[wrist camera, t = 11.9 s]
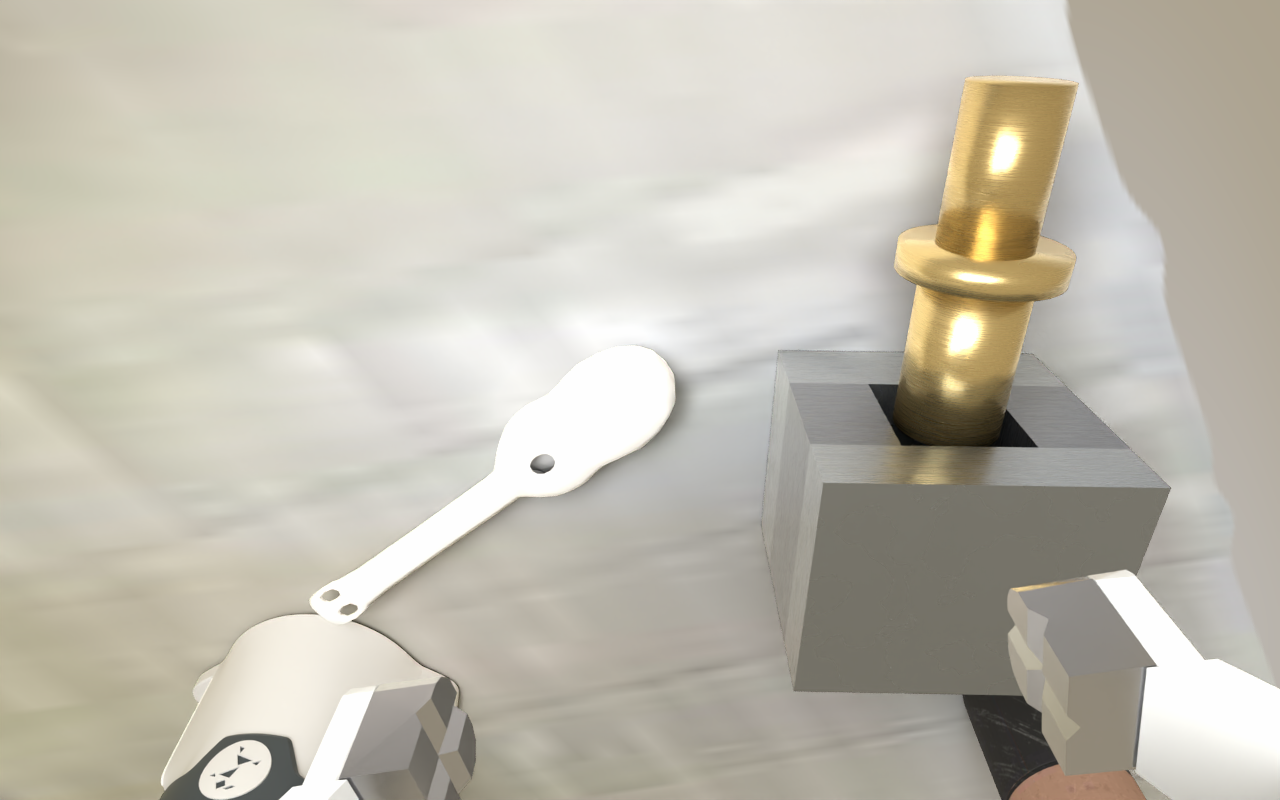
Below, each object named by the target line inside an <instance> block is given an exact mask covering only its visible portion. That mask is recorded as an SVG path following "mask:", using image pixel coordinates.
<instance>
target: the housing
mask: <svg viewBox="0 0 1280 800" xmlns="http://www.w3.org/2000/svg"><path fill="white" fill-rule="evenodd" d="M903 357H904V352H857V351H781V350H778V359H777V369H776V379H775V389H774V400H773V410H772V420H771V430H770V440H769V450H768V460H767V470H766V480H765V490H764V501H763V511H762V521H761V527H762V532H763V537H764V542H765V548H766V553H767V558H768V563H769V568H770V573H771V578H772V583H773V588H774V593H775V599H776V604H777V609H778V614H779V619H780V624H781V629H782V634H783V639H784V644H785V650H786V655H787V660H788V665H789V670H790V675H791V680H792V685H793V690H794V691H807V692H860V693H913V694H965V695H1018V696H1023V694H1022V692H1021V690H1020V688H1019V686H1018V683H1017V681H1016V678H1015V675H1014V673H1013V669H1012V665H1011V660H1010V656H1009V650H1008V633H1009V632H1010V631H1011V629H1012V628H1013V627H1014V626H1015V623H1014V621H1013V619H1012V617H1011V616H1010V614H1009V612H1008V610H1007V599H1008V593H1009V591H1010V588H1017V587H1023V586H1029V585H1035V584H1041V583H1047V582H1053V581H1059V580H1065V579H1072V578H1078V577H1086V576H1090V575H1096V574H1102V573H1108V572H1114V571H1120V570H1128V571H1129V572H1131V573H1133V574H1134V575H1135V576H1136V575H1137V572H1138V570H1139V567H1140V565H1141V562H1142V560H1143V557H1144V555H1145V552H1146V550H1147V547H1148V545H1149V542H1150V540H1151V537H1152V535H1153V532H1154V530H1155V527H1156V525H1157V522H1158V520H1159V517H1160V515H1161V512H1162V510H1163V507H1164V504H1165V502H1166V499H1167V497H1168V494H1169V492H1170V489H1171V488H1170V487H1169V486H1168V485H1167V484H1166V483H1165V482H1164V481H1163V480H1162V479H1161V478H1160V477H1159V476H1158V475H1157V474H1156V473H1155V472H1154V471H1153V470H1152V469H1151V468H1150V467H1149V466H1148V465H1147V464H1146V463H1145V462H1144V461H1143V460H1142V459H1141V458H1139V457H1138V456H1137V455H1136V454H1135V453H1134V452H1133V451H1132V450H1131V449H1130V448H1129V447H1128V446H1127V445H1126V444H1125V443H1124V442H1123V441H1122V440H1121V439H1120V438H1119V437H1118V436H1117V435H1116V434H1115V433H1114V432H1113V431H1112V430H1111V429H1110V428H1109V427H1107V426H1106V425H1105V424H1104V423H1103V422H1102V421H1101V420H1100V419H1099V418H1098V417H1097V416H1096V415H1095V414H1094V413H1093V412H1092V411H1091V410H1090V409H1089V408H1088V407H1087V406H1086V405H1085V404H1084V403H1083V402H1082V401H1081V400H1080V399H1079V398H1078V397H1076V396H1075V395H1074V394H1073V393H1072V392H1071V391H1070V390H1069V389H1068V388H1067V387H1066V386H1065V385H1064V384H1063V383H1062V382H1061V381H1060V380H1059V379H1058V378H1057V377H1056V376H1055V375H1054V374H1053V373H1052V372H1051V371H1050V370H1049V369H1048V368H1047V367H1046V366H1044V365H1043V364H1042V363H1041V362H1040V361H1039V360H1038V359H1037V358H1036V357H1035V356H1034V355H1033V354H1020V357H1019V361H1018V365H1017V369H1016V373H1015V377H1014V380H1013V384H1012V388H1011V392H1010V396H1009V400H1008V403H1007V407H1006V411H1005V415H1004V419H1003V423H1002V426H1001V430H1000V434H999V438H998V440H997V441H996V442H995V443H994V444H992V445H991V446H988V447H962V446H930V445H927V444H924V443H921V442H919V441H917V440H914V439H912V438H911V437H909V436H907V435H906V434H904V433H903V432H902V431H900V430H899V429H898V428H897V426H896V425H895V424H894V421H893V411H894V406H895V400H896V395H897V389H898V384H899V379H900V373H901V368H902V362H903Z"/></svg>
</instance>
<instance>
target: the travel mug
mask: <svg viewBox="0 0 1280 800" xmlns="http://www.w3.org/2000/svg"><path fill="white" fill-rule="evenodd" d="M963 698H964V703H965V706H966V709H967V712H968V715H969V717H970V720H971V723H972V725H973V728H974V730H975V733H976V735H977V738H978V741H979V743H980V746H981V748H982V751H983V753H984V756H985V758H986V761H987V764H988V766H989V769H990V771H991V774H992V776H993V779H994V782H995V784H996V787H997V789H998V792H999V794H1000V797H1001V800H1146V798H1145V797H1144V795H1143V793H1142V792H1141V790H1140V788H1139V787H1138V785H1137V783H1136V782H1135V780H1134V778H1133V777H1132V775H1131V774H1130V772H1129V770H1122V771H1112V772H1101V773H1091V774H1081V775H1070V776H1065V775H1064V773H1063V771H1062V769H1061V767H1060V765H1059V763H1058V761H1057V760H1056V758H1055V756H1054V754H1053V752H1052V750H1051V748H1050V746H1049V744H1048V743H1047V741H1046V739H1045V737H1044V735H1043V733H1042V713H1041V712H1040V711H1038V710H1037V709H1035V708H1034V707H1032V706H1030V705H1029V704H1027V702H1026V700H1025V698H1024V696H1018V695H965V694H963Z"/></svg>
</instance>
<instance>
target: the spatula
mask: <svg viewBox="0 0 1280 800" xmlns="http://www.w3.org/2000/svg"><path fill="white" fill-rule="evenodd" d="M674 404H675V378H674V374H673V372H672V371H671V369H670V367H669V366H668V364H667V362H666V361H665V360H664V359H663V358H661V357H660V356H659V355H658V354H657V353H655V352H654V351H653V350H651V349H648V348H644V347H641V346H616V347H613V348H610V349H607V350H604V351H600V352H598V353H597V354H595V355H593V356H591V357H589V358H587V359H585V360H583V361H582V362H580V363H578V364H577V365H576V366H575V367H574V368H573V369H572V370H571V371H570V372H569V373H568V374H567V375H566V376H565V377H564V378H563V379H562V380H561V381H560V382H559V383H558V384H557V385H556V387H555V388H554V389H553V390H552V391H551V392H550V393H548V394H547V395H545V396H543V397H542V398H540V399H538V400H536V401H534V402H531V403H529V404H527V405H526V406H525V407H523V408H522V409H521V410H519V411H518V412H517V413H516V414H515V415H514V416H513V417H512V418H511V420H510V421H509V422H508V423H507V425H506V426H505V428H504V431H503V433H502V436H501V439H500V442H499V446H498V449H497V453H496V459H495V467H494V470H493V472H492V473H491V474H490V475H488V476H487V477H486V478H484V479H483V480H482V481H480V482H479V483H477V484H476V485H475V486H473V487H472V488H471V489H469V490H468V491H466V492H465V493H464V494H462V495H461V496H459V497H458V498H457V499H455V500H454V501H452V502H451V503H450V504H448V505H447V506H446V507H444V508H443V509H441V510H440V511H439V512H437V513H436V514H434V515H433V516H432V517H430V518H429V519H427V520H426V521H425V522H423V523H422V524H420V525H419V526H418V527H416V528H415V529H413V530H412V531H411V532H409V533H408V534H406V535H405V536H403V537H402V538H401V539H399V540H398V541H396V542H395V543H393V544H392V545H391V546H389V547H388V548H386V549H385V550H383V551H382V552H381V553H379V554H378V555H376V556H375V557H373V558H372V559H371V560H369V561H368V562H366V563H365V564H363V565H362V566H360V567H359V568H357V569H356V570H354V571H352V572H351V573H349V574H347V575H345V576H344V577H342V578H340V579H339V580H336V581H333V582H330V583H329V584H327V585H325V586H323V587H322V588H321V589H320V590H319V591H317V592H316V593H315V594H314V595H313V596H312V597H311V598H310V599H309V603H310V606H311V607H312V608H313V609H314V610H315V611H316V612H317V613H318V614H319V615H320V616H321V617H322V618H324V619H326V620H327V621H329V622H331V623H333V624H337V625H343V624H346V623H348V622H350V621H351V620H353V619H355V618H357V617H358V616H359V615H361V614H362V613H363V612H364V611H366V610H367V608H368V607H369V605H370V604H372V603H373V602H374V601H375V600H376V599H378V598H379V597H380V596H381V595H382V594H383V593H385V592H386V591H387V590H389V589H390V588H391V587H393V586H394V585H396V584H397V583H398V582H400V581H401V580H403V579H404V578H406V577H407V576H408V575H410V574H411V573H413V572H414V571H415V570H417V569H418V568H420V567H421V566H422V565H424V564H425V563H427V562H428V561H430V560H431V559H432V558H434V557H435V556H437V555H438V554H439V553H441V552H442V551H444V550H445V549H447V548H448V547H450V546H451V545H453V544H454V543H455V542H457V541H458V540H460V539H461V538H463V537H464V536H466V535H467V534H468V533H470V532H471V531H473V530H474V529H476V528H477V527H479V526H480V525H481V524H483V523H484V522H486V521H487V520H489V519H490V518H492V517H493V516H494V515H496V514H497V513H499V512H500V511H501V510H503V509H504V508H506V507H507V506H509V505H510V504H511V503H513V502H514V501H516V500H517V499H518V498H519V497H549V496H559V495H561V494H564V493H567V492H569V491H572V490H574V489H576V488H578V487H579V486H581V485H582V484H584V483H585V482H587V481H588V480H589V479H590V478H591V477H592V476H593V475H594V474H595V473H596V472H597V471H598V470H599V469H600V468H601V467H603V466H604V465H606V464H608V463H610V462H613V461H615V460H617V459H620V458H622V457H624V456H626V455H628V454H630V453H632V452H634V451H636V450H638V449H640V448H642V447H644V446H645V445H646V444H647V443H648V442H649V441H650V440H651V439H652V438H653V437H654V436H655V435H657V434H658V433H659V431H660V430H661V428H662V427H663V425H664V424H665V422H666V421H667V419H668V418H669V416H670V414H671V411H672V409H673V406H674ZM331 589H333V590H337V591H339V593H340V596H339V597H338V598H336V599H334V600H332V601H328V600H324V599H323V597H322V595H323V594H324V592H326V591H329V590H331ZM348 604H354V605H357V607H358V610H357V611H356V612H354V613H352V614H350V615H345V614H342V613H341V611H340V609H341V608H342V607H343V606H346V605H348Z"/></svg>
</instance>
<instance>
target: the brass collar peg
mask: <svg viewBox="0 0 1280 800" xmlns="http://www.w3.org/2000/svg"><path fill="white" fill-rule="evenodd" d="M1078 85H1079V83H1077V82H1074V81H1069V80H1062V79H1053V78H1042V77H1026V76H974V77H967V78H965V83H964V88H963V93H962V99H961V104H960V109H959V114H958V120H957V125H956V130H955V136H954V141H953V146H952V151H951V157H950V162H949V167H948V173H947V178H946V183H945V188H944V194H943V199H942V204H941V210H940V215H939V220H938V224H935V225H926V226H919V227H915V228H911V229H908V230H906V231H904V232H902V233H901V234H900V235H899V238H898V243H897V249H896V255H895V261H894V269H895V270H896V272H897V273H898V274H899V275H900V276H902V277H903V278H905V279H906V280H908V281H910V282H912V283H914V284H916V285H917V286H916V291H915V297H914V302H913V308H912V313H911V318H910V324H909V329H908V335H907V340H906V346H905V351H904V357H903V362H902V368H901V373H900V379H899V384H898V389H897V395H896V400H895V406H894V411H893V421H894V424H895V425H896V426H897V428H898V429H899V430H900V431H902V432H903V433H904V434H906V435H907V436H909V437H911V438H912V439H914V440H917V441H919V442H921V443H924V444H927V445H930V446H962V447H988V446H991V445H992V444H994V443H995V442H996V441H997V440H998V438H999V434H1000V430H1001V426H1002V423H1003V419H1004V415H1005V411H1006V407H1007V403H1008V400H1009V396H1010V392H1011V388H1012V384H1013V380H1014V377H1015V373H1016V369H1017V365H1018V361H1019V357H1020V354H1021V350H1022V346H1023V342H1024V338H1025V334H1026V331H1027V327H1028V323H1029V319H1030V315H1031V311H1032V308H1033V304H1034V301H1040V300H1046V299H1051V298H1054V297H1057V296H1059V295H1061V294H1063V293H1064V292H1066V290H1067V289H1068V286H1069V283H1070V279H1071V276H1072V272H1073V269H1074V265H1075V261H1076V255H1075V253H1074V252H1073V251H1072V250H1071V249H1070V248H1068V247H1067V246H1065V245H1063V244H1061V243H1059V242H1057V241H1054V240H1051V239H1049V238H1046V237H1043V236H1040V234H1041V230H1042V226H1043V222H1044V218H1045V214H1046V211H1047V207H1048V203H1049V199H1050V195H1051V191H1052V187H1053V183H1054V179H1055V175H1056V171H1057V167H1058V163H1059V159H1060V155H1061V151H1062V148H1063V144H1064V140H1065V136H1066V132H1067V128H1068V124H1069V120H1070V116H1071V112H1072V108H1073V104H1074V100H1075V96H1076V92H1077V88H1078Z"/></svg>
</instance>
